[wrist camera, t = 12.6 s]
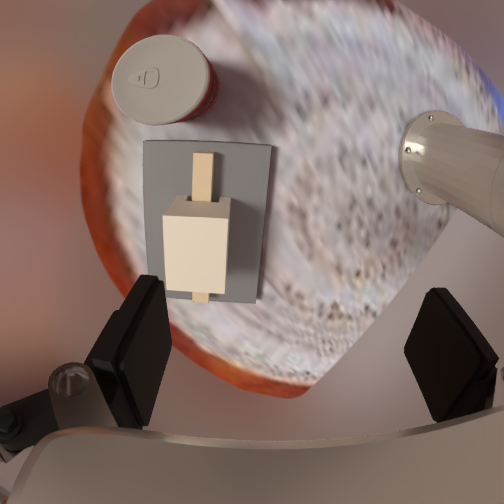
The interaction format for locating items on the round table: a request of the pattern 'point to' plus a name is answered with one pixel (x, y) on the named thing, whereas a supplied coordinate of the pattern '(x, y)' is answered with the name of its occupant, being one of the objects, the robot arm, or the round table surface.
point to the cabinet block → (196, 245)
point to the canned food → (164, 81)
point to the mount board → (228, 183)
